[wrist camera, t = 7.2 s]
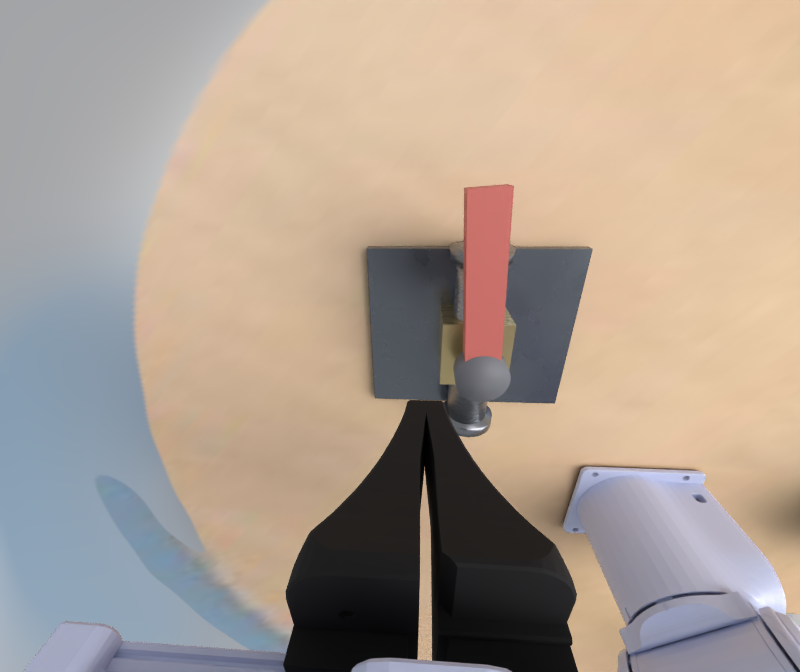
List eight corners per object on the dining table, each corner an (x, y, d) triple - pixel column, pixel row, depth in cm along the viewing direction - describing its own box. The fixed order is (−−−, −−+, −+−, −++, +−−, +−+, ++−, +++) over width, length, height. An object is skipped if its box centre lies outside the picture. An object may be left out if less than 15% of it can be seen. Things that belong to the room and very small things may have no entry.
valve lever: (503, 388, 19) (508, 401, 18) (453, 389, 19) (455, 402, 18) (519, 183, 14) (527, 184, 13) (452, 188, 15) (454, 190, 13)
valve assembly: (367, 237, 20) (354, 256, 16) (589, 238, 20) (632, 257, 16) (376, 398, 26) (367, 441, 22) (550, 403, 25) (574, 449, 21)
